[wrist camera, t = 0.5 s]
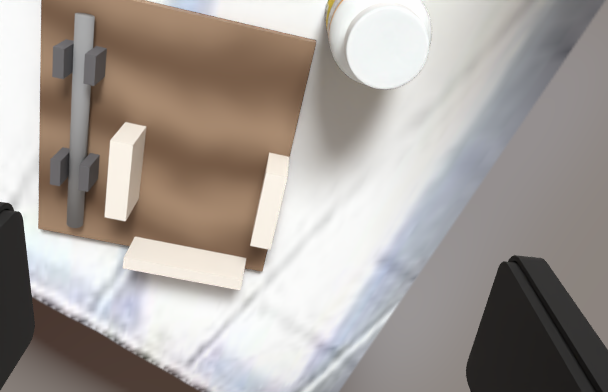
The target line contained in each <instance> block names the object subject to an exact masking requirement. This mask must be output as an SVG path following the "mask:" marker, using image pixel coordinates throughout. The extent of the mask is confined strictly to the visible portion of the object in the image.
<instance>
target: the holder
mask: <svg viewBox="0 0 608 392" xmlns="http://www.w3.org/2000/svg"><path fill="white" fill-rule="evenodd" d="M145 135H146V126H142V125H137V124H132V123H128V122H125V123H124V124H123V126H122V127H121V128H120V129H119V130H118V132H117V133H116V134H115V135H114V136H113V138H112V139H111V140H110V150H109V164H108V177H107V190H106V204H105V217H106V218H111V219H116V220H121V221H126V220H127V218H128V217H129V215H130V213H131V211H132V210H133V208H134V206H135V204H136V203H137V201H138V199H139V192H140V183H141V173H142V164H143V154H144V145H145ZM288 167H289V157H288V156H283V155H278V154H274V153H269V156H268V161H267V166H266V170H265V175H264V179H263V184H262V189H261V193H260V198H259V203H258V207H257V212H256V216H255V221H254V227H253V232H252V238H251V244H250V246H254V247H259V248H264V249H269V250H270V249H271V245H272V241H273V237H274V233H275V228H276V224H277V220H278V216H279V212H280V207H281V203H282V199H283V195H284V191H285V186H286V182H287V178H288ZM245 264H246V258H243V257H238V256H233V255H228V254H223V253H217V252H212V251H207V250H202V249H197V248H192V247H187V246H181V245H176V244H171V243H166V242H161V241H156V240H150V239H145V238H140V237H134V239H133V241H132V243H131V245H130V247H129V249H128V251H127V252H126V254H125V256H124V261H123V268H124V269H129V270H134V271H140V272H145V273H150V274H156V275H161V276H166V277H171V278H177V279H182V280H187V281H193V282H198V283H203V284H209V285H214V286H219V287H225V288H230V289H235V290H241V285H242V280H243V275H244V269H245Z"/></svg>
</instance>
